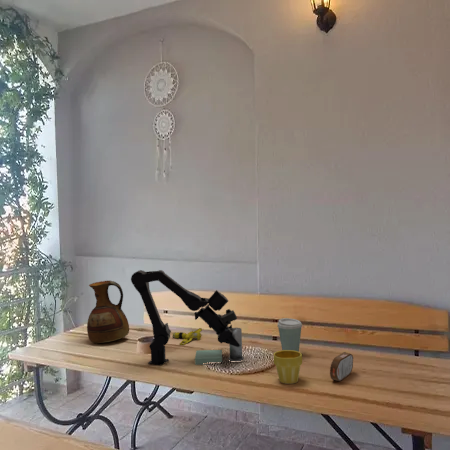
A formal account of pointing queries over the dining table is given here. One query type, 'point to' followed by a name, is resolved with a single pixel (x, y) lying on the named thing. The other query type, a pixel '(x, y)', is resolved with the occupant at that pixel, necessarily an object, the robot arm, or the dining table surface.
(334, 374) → the tin
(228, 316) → the robot arm
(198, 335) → the sprinkler
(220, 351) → the green square slab
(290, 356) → the plant pot
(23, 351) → the dining table surface
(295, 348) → the disposable coffee cup
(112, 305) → the ceramic pitcher
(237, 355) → the cylinder
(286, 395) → the dining table surface
